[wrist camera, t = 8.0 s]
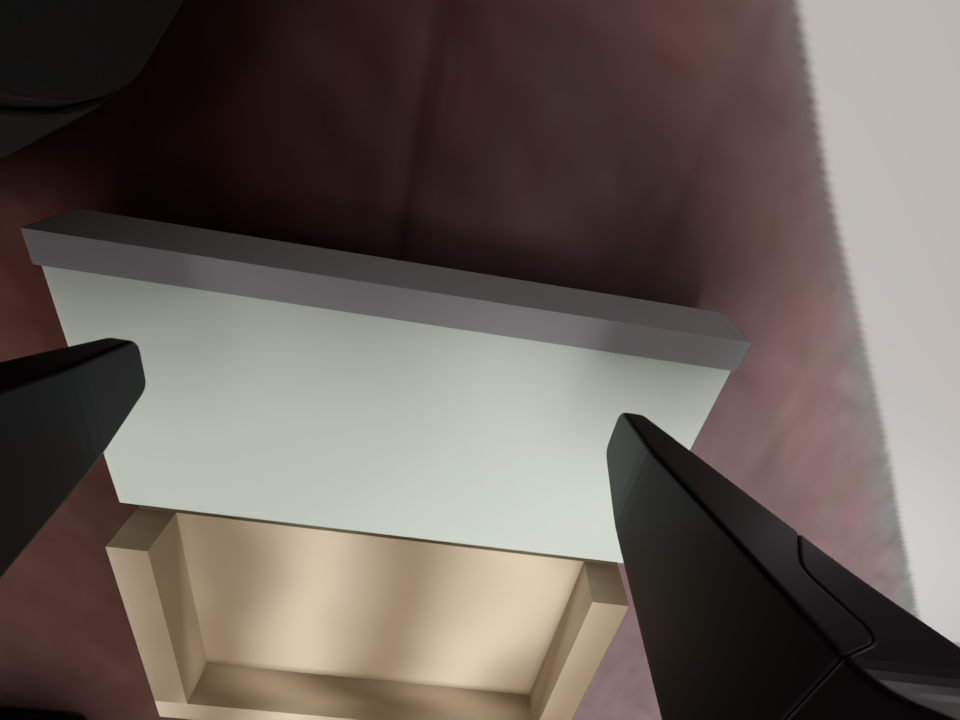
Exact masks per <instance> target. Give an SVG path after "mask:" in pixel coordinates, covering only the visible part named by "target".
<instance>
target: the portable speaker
mask: <svg viewBox="0 0 960 720" xmlns="http://www.w3.org/2000/svg"><path fill="white" fill-rule="evenodd" d="M183 1H184V0H0V159H2V158H4V157H6V156H7V155H9V154H11V153H13V152H15V151H17V150H19V149H21V148H23V147H24V146H26V145H28V144H30V143H32V142H34V141H36V140H38V139H39V138H41V137H43V136H45V135H47V134H49V133H51V132H53V131H55V130H56V129H58V128H60V127H62V126H64V125H66V124H68V123H70V122H72V121H73V120H75V119H77V118H79V117H81V116H83V115H85V114H87V113H89V112H90V111H92V110H94V109H95V108H97V107H98V106H99V105H101V104H102V103H103V102H105V101H106V100H108V99H109V98H110V97H112V96H113V95H114V94H116V93H117V92H118V91H119V90H120V88H122V87H124V86H127V85H128V84H129V83H130V82H131V81H132V80H133V79H134V78H135V77H136V76H137V75H138V74H139V73H140V72H141V70H142V69H143V67H144V65H145V64H146V62H147V60H148V59H149V57H150V55H151V54H152V52H153V50H154V49H155V47H156V46H157V44H158V42H159V41H160V39H161V37H162V36H163V34H164V32H165V31H166V29H167V27H168V26H169V24H170V22H171V21H172V19H173V17H174V16H175V14H176V12H177V11H178V9H179V8H180V6H181V4H182V3H183Z"/></svg>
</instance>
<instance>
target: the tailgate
mask: <svg viewBox="0 0 960 720" xmlns="http://www.w3.org/2000/svg"><path fill="white" fill-rule="evenodd" d="M21 231H22V234H23V237H24V240H25V243H26V246H27V249H28V252H29V255H30V258H31V261H32V264H35V265H42V268H43V271H44V274H45V277H46V280H47V283H48V286H49V289H50V292H51V296H52V299H53V302H54V305H55V308H56V311H57V314H58V317H59V320H60V323H61V326H62V329H63V332H64V335H65V338H66V341H67V344H68V347H70V346H74V345H78V344H83V343H87V342H91V341H96V340H100V339H104V338H117V339H124V340H130V341H133V342H135V343H136V344H137V345H138V347H139V350H140V355H141V359H142V364H143V369H144V374H145V379H146V385H145V389H144V392H143V394H142V395H141V397H140V398H139V400H138V401H137V403H136V404H135V406H134V408H133V409H132V411H131V412H130V414H129V415H128V417H127V418H126V420H125V421H124V423H123V424H122V426H121V427H120V429H119V430H118V432H117V433H116V435H115V436H114V438H113V439H112V441H111V442H110V444H109V445H108V447H107V448H106V450H105V451H104V452H103V453H104V456H105V459H106V462H107V465H108V468H109V471H110V474H111V477H112V480H113V483H114V486H115V489H116V492H117V495H118V498H119V501H120V503H129V504H137V505H145V506H154V507H162V508H170V509H179V510H187V511H195V512H203V513H212V514H220V515H228V516H237V517H245V518H253V519H262V520H270V521H278V522H287V523H295V524H303V525H311V526H320V527H328V528H336V529H345V530H353V531H361V532H370V533H378V534H386V535H394V536H403V537H411V538H419V539H428V540H436V541H444V542H453V543H461V544H469V545H477V546H486V547H494V548H502V549H511V550H519V551H527V552H536V553H544V554H552V555H561V556H569V557H577V558H585V559H594V560H602V561H610V562H619V563H624V562H623V558H622V554H621V550H620V545H619V541H618V537H617V533H616V528H615V522H614V515H613V507H612V499H611V491H610V483H609V475H608V467H607V458H606V452H607V446H608V443H609V440H610V438H611V435H612V432H613V430H614V427H615V424H616V422H617V419H618V417H619V416H620V414H622V413H633V414H640V415H643V416H645V417H646V418H647V419H649V420H650V421H651V422H653V423H654V424H655V425H657V426H658V427H659V428H661V429H662V430H663V431H665V432H666V433H667V434H669V435H670V436H671V437H673V438H674V439H675V440H676V441H678V442H679V443H680V444H682V445H683V446H684V447H686V448H687V449H688V450H690V449H691V447H692V445H693V443H694V441H695V439H696V437H697V435H698V433H699V431H700V429H701V428H702V426H703V424H704V422H705V420H706V418H707V416H708V414H709V412H710V410H711V408H712V406H713V405H714V403H715V401H716V399H717V397H718V395H719V393H720V391H721V389H722V387H723V385H724V384H725V382H726V380H727V378H728V376H729V374H730V372H731V371H736V372H737V370H738V368H739V366H740V364H741V363H742V361H743V359H744V357H745V355H746V353H747V351H748V349H749V347H750V346H751V344H752V342H751V341H750V340H749V339H748V338H747V337H746V336H745V335H744V334H743V333H742V332H741V331H740V330H739V329H738V328H737V327H736V326H735V325H734V324H733V323H732V322H731V320H730V319H729V318H728V317H727V316H726V315H725V314H724V313H722V312H716V311H710V310H704V309H697V308H691V307H685V306H679V305H673V304H667V303H660V302H654V301H648V300H642V299H636V298H629V297H623V296H617V295H611V294H605V293H598V292H592V291H586V290H580V289H574V288H567V287H561V286H555V285H549V284H543V283H537V282H530V281H524V280H518V279H512V278H506V277H499V276H493V275H487V274H481V273H475V272H468V271H462V270H456V269H450V268H444V267H437V266H431V265H425V264H419V263H413V262H407V261H400V260H394V259H388V258H382V257H376V256H369V255H363V254H357V253H351V252H345V251H338V250H332V249H326V248H320V247H314V246H307V245H301V244H295V243H289V242H283V241H277V240H270V239H264V238H258V237H252V236H246V235H239V234H233V233H227V232H221V231H215V230H208V229H202V228H196V227H190V226H184V225H177V224H171V223H165V222H159V221H153V220H146V219H140V218H134V217H128V216H122V215H116V214H109V213H103V212H97V211H91V210H85V209H78V208H76V209H74V210H71V211H68V212H65V213H62V214H59V215H56V216H53V217H50V218H47V219H44V220H41V221H38V222H35V223H32V224H29V225H27V226H24V227H21Z"/></svg>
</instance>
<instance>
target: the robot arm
mask: <svg viewBox="0 0 960 720" xmlns="http://www.w3.org/2000/svg"><path fill="white" fill-rule="evenodd" d="M145 385H146V379H145V374H144V369H143V364H142V359H141V355H140V350H139V347H138V345H137V344H136V343H135V342H133V341H130V340H124V339H117V338H104V339H100V340H96V341H91V342H87V343H83V344H78V345H74V346H70V347H65V348H61V349H57V350H52V351H48V352H43V353H39V354H35V355H30V356H26V357H22V358H17V359H13V360H9V361H4V362H0V578H1V577H2V576H3V575H4V574H5V572H6V571H7V570H8V569H9V568H10V566H11V565H12V564H13V563H14V562H15V560H16V559H17V558H18V557H19V556H20V554H21V553H22V552H23V551H24V550H25V548H26V547H27V546H28V545H29V543H30V542H31V541H32V540H33V539H34V537H35V536H36V535H37V534H38V533H39V531H40V530H41V529H42V528H43V527H44V525H45V524H46V523H47V522H48V521H49V519H50V518H51V517H52V516H53V515H54V513H55V512H56V511H57V510H58V509H59V507H60V506H61V505H62V504H63V503H64V501H65V500H66V499H67V498H68V496H69V495H70V494H71V493H72V492H73V490H74V489H75V488H76V487H77V486H78V484H79V483H80V482H81V481H82V480H83V478H84V477H85V476H86V475H87V474H88V472H89V471H90V470H91V469H92V467H93V466H94V465H95V463H96V462H97V461H98V460H99V458H100V457H101V455H102V454H103V452H104V451H105V450H106V448H107V447H108V445H109V444H110V442H111V441H112V439H113V438H114V436H115V435H116V433H117V432H118V430H119V429H120V427H121V426H122V424H123V423H124V421H125V420H126V418H127V417H128V415H129V414H130V412H131V411H132V409H133V408H134V406H135V404H136V403H137V401H138V400H139V398H140V397H141V395H142V394H143V392H144V389H145ZM606 458H607V467H608V475H609V483H610V491H611V499H612V507H613V515H614V522H615V528H616V533H617V537H618V541H619V545H620V550H621V554H622V558H623V562H624V566H625V570H626V574H627V578H628V582H629V586H630V590H631V595H632V599H633V603H634V607H635V611H636V615H637V619H638V623H639V627H640V631H641V635H642V640H643V644H644V648H645V652H646V656H647V660H648V664H649V668H650V672H651V676H652V680H653V685H654V689H655V693H656V697H657V701H658V705H659V709H660V713H661V717H662V720H960V647H958V646H957V645H955V644H954V643H952V642H951V641H950V640H948V639H947V638H945V637H944V636H942V635H941V634H939V633H938V632H936V631H935V630H933V629H932V628H931V627H929V626H928V625H926V624H925V623H923V622H922V621H920V620H919V619H917V618H916V617H914V616H913V615H912V614H910V613H909V612H907V611H906V610H904V609H903V608H901V607H900V606H898V605H897V604H895V603H894V602H893V601H891V600H890V599H888V598H887V597H885V596H884V595H883V594H881V593H880V592H878V591H877V590H875V589H874V588H873V587H871V586H870V585H868V584H867V583H865V582H864V581H863V580H861V579H860V578H858V577H857V576H855V575H854V574H853V573H851V572H850V571H849V570H847V569H846V568H845V567H843V566H842V565H841V564H839V563H838V562H836V561H835V560H834V559H832V558H831V557H830V556H828V555H827V554H826V553H824V552H823V551H822V550H820V549H819V548H818V547H816V546H815V545H814V544H812V543H811V542H810V541H808V540H807V539H806V538H805V537H803V536H802V535H799V536H798V534H797V532H796V531H795V530H794V529H793V528H791V527H790V526H789V525H787V524H786V523H785V522H783V521H782V520H781V519H779V518H778V517H777V516H775V515H774V514H773V513H771V512H770V511H769V510H767V509H766V508H765V507H763V506H762V505H761V504H760V503H758V502H757V501H756V500H754V499H753V498H752V497H750V496H749V495H748V494H746V493H745V492H744V491H742V490H741V489H740V488H738V487H737V486H736V485H734V484H733V483H732V482H730V481H729V480H728V479H727V478H725V477H724V476H723V475H721V474H720V473H719V472H717V471H716V470H715V469H713V468H712V467H711V466H709V465H708V464H707V463H705V462H704V461H703V460H702V459H700V458H699V457H698V456H696V455H695V454H694V453H692V452H691V451H690V450H688V449H687V448H686V447H684V446H683V445H682V444H680V443H679V442H678V441H676V440H675V439H674V438H673V437H671V436H670V435H669V434H667V433H666V432H665V431H663V430H662V429H661V428H659V427H658V426H657V425H655V424H654V423H653V422H651V421H650V420H649V419H647V418H646V417H645V416H643V415H640V414H633V413H622V414H620V416H619V417H618V419H617V422H616V424H615V427H614V430H613V432H612V435H611V438H610V440H609V443H608V446H607V452H606ZM0 720H79V719H77V718H74V717H67V716H56V715H44V714H33V713H22V712H11V711H0Z"/></svg>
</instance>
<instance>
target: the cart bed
mask: <svg viewBox="0 0 960 720" xmlns="http://www.w3.org/2000/svg"><path fill="white" fill-rule="evenodd" d="M105 547H106V550H107V553H108V556H109V559H110V562H111V566H112V569H113V572H114V575H115V578H116V581H117V584H118V587H119V591H120V594H121V597H122V600H123V603H124V606H125V609H126V612H127V616H128V619H129V622H130V625H131V628H132V631H133V634H134V637H135V640H136V644H137V647H138V650H139V653H140V656H141V659H142V662H143V665H144V669H145V672H146V675H147V678H148V681H149V684H150V687H151V690H152V693H153V697H154V700H155V703H156V706H157V709H158V712H159V715H160V717H171V718H182V719H193V720H571V719H572V717H573V715H574V713H575V711H576V709H577V707H578V705H579V703H580V701H581V699H582V697H583V695H584V693H585V691H586V690H587V688H588V686H589V684H590V682H591V680H592V678H593V676H594V674H595V672H596V670H597V668H598V666H599V664H600V662H601V660H602V658H603V656H604V654H605V652H606V650H607V648H608V646H609V645H610V643H611V641H612V639H613V637H614V635H615V633H616V631H617V629H618V627H619V625H620V623H621V621H622V619H623V617H624V615H625V613H626V611H627V609H628V607H629V604H628V601H627V597H626V593H625V590H624V586H623V583H622V579H621V576H620V572H619V568H618V565H617V562H610V561H602V560H594V559H585V558H577V557H569V556H561V555H552V554H544V553H536V552H527V551H519V550H511V549H502V548H494V547H486V546H477V545H469V544H461V543H453V542H444V541H436V540H428V539H419V538H411V537H403V536H394V535H386V534H378V533H370V532H361V531H353V530H345V529H336V528H328V527H320V526H311V525H303V524H295V523H287V522H278V521H270V520H262V519H253V518H245V517H237V516H228V515H220V514H212V513H203V512H195V511H187V510H179V509H170V508H162V507H154V506H145V505H140V506H139V507H138V508H137V509H136V511H135V512H134V513H133V514H132V515H131V517H130V518H129V519H128V520H127V521H126V523H125V524H124V525H123V526H122V527H121V529H120V530H119V531H118V532H117V533H116V535H115V536H114V537H113V538H112V539H111V541H110V542H109V543H108V544H107V545H106V546H105Z"/></svg>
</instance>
